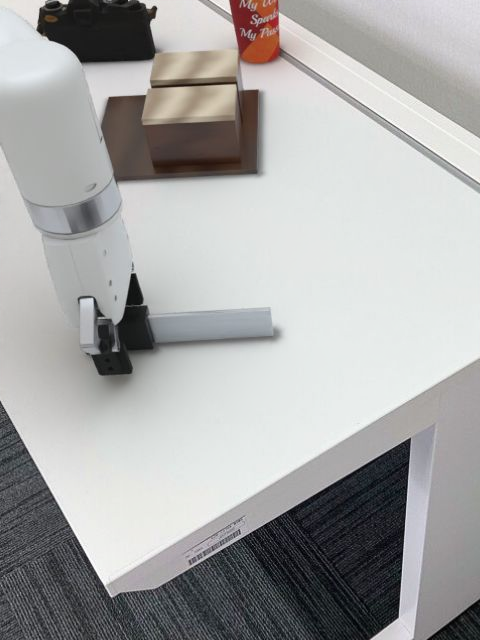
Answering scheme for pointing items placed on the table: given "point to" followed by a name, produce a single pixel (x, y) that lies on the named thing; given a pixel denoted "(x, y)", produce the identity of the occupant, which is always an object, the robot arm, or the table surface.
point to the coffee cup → (256, 29)
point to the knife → (187, 326)
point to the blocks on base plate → (185, 120)
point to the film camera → (100, 29)
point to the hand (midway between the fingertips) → (122, 336)
